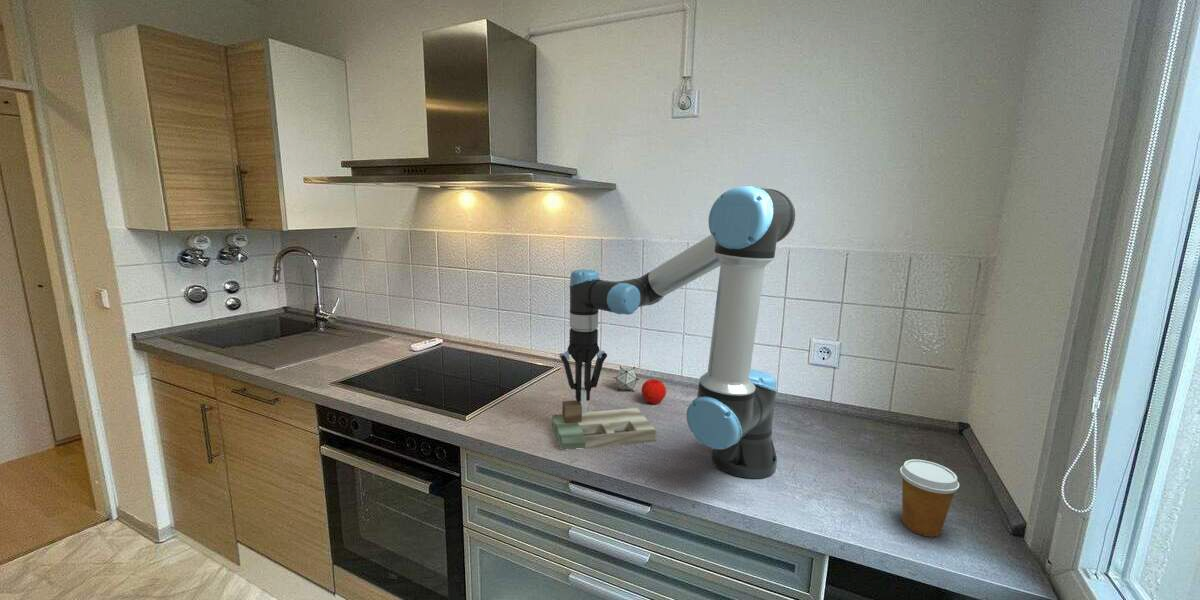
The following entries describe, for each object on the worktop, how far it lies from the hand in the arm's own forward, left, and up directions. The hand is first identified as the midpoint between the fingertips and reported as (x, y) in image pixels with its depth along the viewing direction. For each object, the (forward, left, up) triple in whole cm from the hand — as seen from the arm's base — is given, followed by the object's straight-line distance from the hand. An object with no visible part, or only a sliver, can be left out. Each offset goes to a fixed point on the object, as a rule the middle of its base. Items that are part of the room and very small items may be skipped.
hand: (582, 411), depth 134 cm
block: (0, +3, -2) cm, 4 cm away
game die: (+26, -21, -5) cm, 34 cm away
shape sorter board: (-4, -5, -5) cm, 8 cm away
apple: (+14, -26, -5) cm, 30 cm away
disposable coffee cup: (-56, -55, -5) cm, 79 cm away
